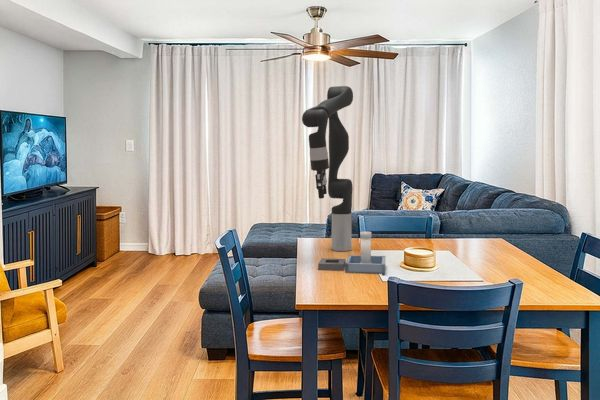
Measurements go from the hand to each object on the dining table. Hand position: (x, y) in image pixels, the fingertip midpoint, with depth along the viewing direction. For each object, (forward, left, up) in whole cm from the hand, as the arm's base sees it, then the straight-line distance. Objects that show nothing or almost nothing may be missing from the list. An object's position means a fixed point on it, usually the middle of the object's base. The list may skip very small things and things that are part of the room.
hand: (322, 196), depth 241 cm
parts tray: (+13, +19, -28) cm, 36 cm away
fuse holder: (+13, +5, -28) cm, 31 cm away
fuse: (+13, +19, -27) cm, 35 cm away
